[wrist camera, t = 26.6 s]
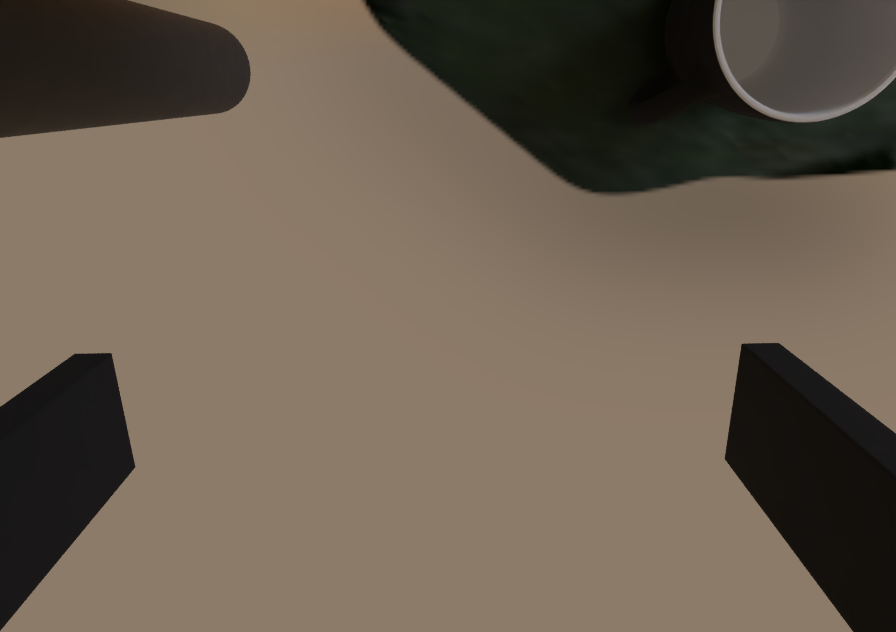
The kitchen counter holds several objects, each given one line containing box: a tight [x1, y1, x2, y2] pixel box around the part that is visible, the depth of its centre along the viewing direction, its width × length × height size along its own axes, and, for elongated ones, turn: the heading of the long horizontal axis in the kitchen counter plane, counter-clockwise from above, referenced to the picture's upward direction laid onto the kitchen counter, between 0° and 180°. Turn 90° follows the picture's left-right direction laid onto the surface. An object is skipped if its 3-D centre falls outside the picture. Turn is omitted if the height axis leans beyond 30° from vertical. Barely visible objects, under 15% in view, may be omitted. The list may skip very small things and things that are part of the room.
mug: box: [627, 0, 896, 126], centre depth 31 cm, size 12×9×10 cm
